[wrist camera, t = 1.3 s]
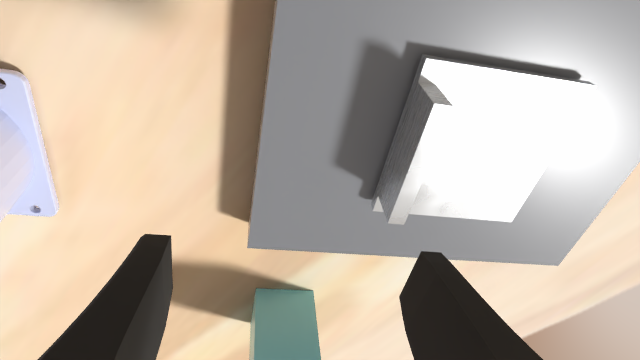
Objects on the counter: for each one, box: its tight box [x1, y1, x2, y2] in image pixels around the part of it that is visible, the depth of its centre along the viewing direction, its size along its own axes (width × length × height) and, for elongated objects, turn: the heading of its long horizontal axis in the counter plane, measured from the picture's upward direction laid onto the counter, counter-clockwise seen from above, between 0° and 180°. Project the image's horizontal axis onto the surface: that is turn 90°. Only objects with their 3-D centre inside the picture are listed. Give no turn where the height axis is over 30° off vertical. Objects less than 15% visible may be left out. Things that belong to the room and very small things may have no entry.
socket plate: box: [247, 0, 640, 266], centre depth 20 cm, size 20×16×2 cm
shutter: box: [371, 54, 596, 225], centre depth 18 cm, size 8×8×2 cm
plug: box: [249, 288, 321, 360], centre depth 26 cm, size 4×4×7 cm
